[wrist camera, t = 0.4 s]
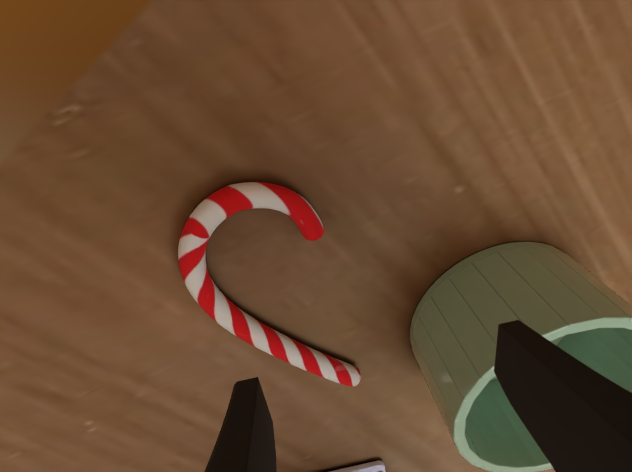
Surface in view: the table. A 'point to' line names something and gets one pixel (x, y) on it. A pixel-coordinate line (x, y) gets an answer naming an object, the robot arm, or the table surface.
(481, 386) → the green round bowl
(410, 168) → the table surface
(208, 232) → the candy cane
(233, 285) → the table surface
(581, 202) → the table surface
